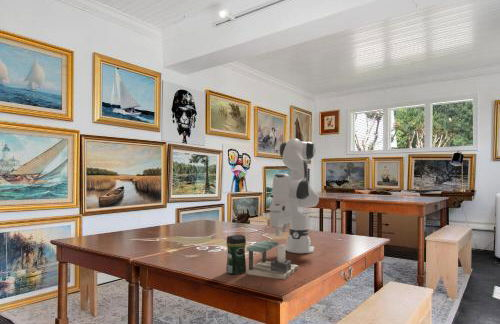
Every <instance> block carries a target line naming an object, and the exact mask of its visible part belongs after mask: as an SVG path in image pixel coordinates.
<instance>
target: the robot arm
mask: <svg viewBox="0 0 500 324" xmlns="http://www.w3.org/2000/svg"><path fill="white" fill-rule="evenodd" d="M278 151H279V156H280V157H281V159H282V163H283V164H284V165H285V167H287V168H288V169H290V172H289V173H290V175H289V174H288V173H285V172H282V173H281V172H280V173H276V174H274V175H273V180H272V195H273V196H272V201H271V204H270V206H269V208H268V211H269V223H270V227H271V228H274V231H275V236H278V237H279V236H280V235H281V231H282V233H286V232H287V228H288V223H289V230H288V232H289V233H288V234H289V235H288V236H287V237H286V246H285V251H287V252H288V253H292V254H293V253H294V254H312V253H314V250H315V246H313V245H312V239H311V238H310V236H309V228H308V216H307V215H306V214H304V212H300V211H299V210H298V208H312V207H317V205H318V204H319V202H320V197H319V194H318V193H317V191H315V190H314V189H313V188H312V187H311V185H310V179H309V170H308V169H309V168H308V167H309V165H308V161H310V160H311V159H313V158H314V157H315V154H316V147H315V144H314V143H313V142H311V141H301V140H300V139H298V138H290V139H288V141H284V142H282V143H281V144H280V145H279V149H278ZM280 227H282V229H281V231H280Z"/></svg>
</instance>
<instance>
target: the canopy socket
mask: <svg viewBox="0 0 500 324" xmlns="http://www.w3.org/2000/svg"><path fill="white" fill-rule="evenodd" d="M277 245H279V241H273V240H261V241H259V242H256V243H254V244H252V245H251V244H250V245H249V246H247V247H246V251H247V252H248V269H247V268H246V274H247V275H251V276H259V277H265V278H271V279H272V278H273V279H279V280H284V281H285V280H287V279H288V278H289V277H290V276H291V275H293V274H294V273H295V272H296V271H297V270H299V264H292V260H291V259H290V260H288V259H285V263H277V258H276V259H274V260H272V261H267V251H270V250H271V249H273V248H275V247H277ZM254 252H256V253H261V257H262V258H261V261H259V262H258V263H257V264H254Z"/></svg>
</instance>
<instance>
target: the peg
mask: <svg viewBox="0 0 500 324" xmlns="http://www.w3.org/2000/svg"><path fill="white" fill-rule="evenodd" d="M276 247H277V248H276V249H277V252H276V255H277V257H276V259H277V263H285V260H286V250H285V248H286V244H281V243H280V244H279V243H278V245H277V246H276Z"/></svg>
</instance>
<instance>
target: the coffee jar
mask: <svg viewBox="0 0 500 324" xmlns="http://www.w3.org/2000/svg"><path fill="white" fill-rule="evenodd" d="M246 244H247V240H246V236H245V235H243V234H235V235H233V234H232V235H228V236H226V247H227V258H226V269H225V270H226V273H227V274H230V275H239V274H240V275H241V274H244V273H247V265H246V264H247V262H246V252H245V251H246Z"/></svg>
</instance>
